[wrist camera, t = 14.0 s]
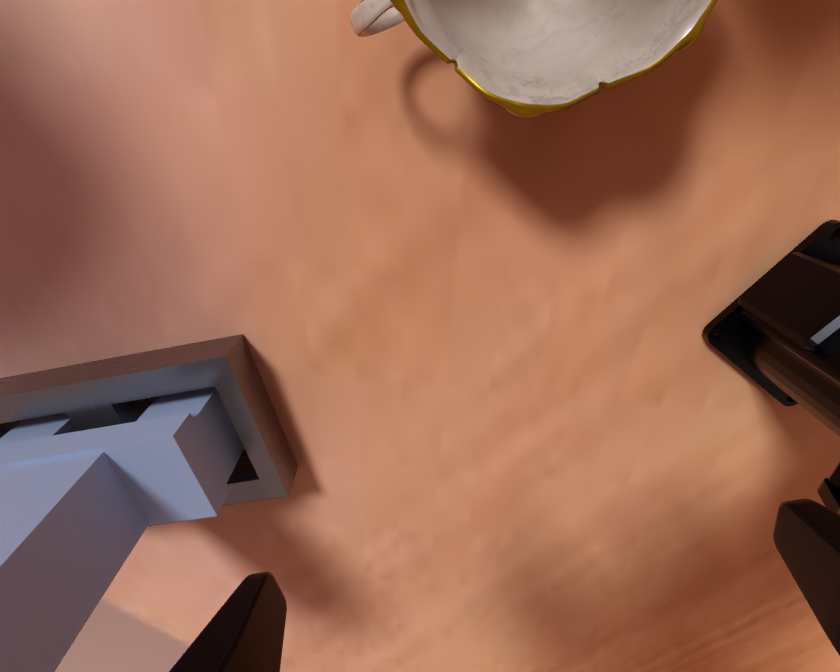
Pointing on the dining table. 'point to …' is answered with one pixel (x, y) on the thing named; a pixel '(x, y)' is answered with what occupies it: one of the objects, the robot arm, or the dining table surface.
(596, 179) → the dining table surface
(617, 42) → the chinaware
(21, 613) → the blue-gray inverted t block
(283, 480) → the rail
